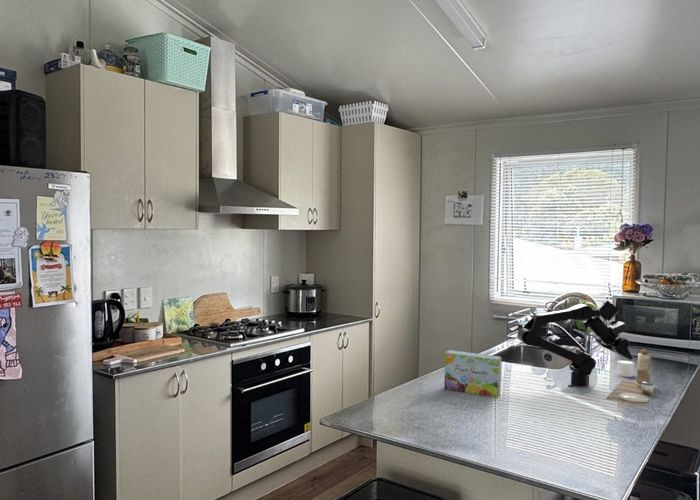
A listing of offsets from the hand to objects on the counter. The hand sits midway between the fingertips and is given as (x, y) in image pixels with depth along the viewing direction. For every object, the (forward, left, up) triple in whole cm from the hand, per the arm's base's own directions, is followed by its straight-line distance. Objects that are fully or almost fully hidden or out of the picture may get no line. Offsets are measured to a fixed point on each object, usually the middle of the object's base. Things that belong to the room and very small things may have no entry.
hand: (625, 356), depth 235 cm
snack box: (-63, +16, -13) cm, 66 cm away
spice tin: (-1, -11, -12) cm, 16 cm away
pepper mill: (+7, -3, -12) cm, 14 cm away
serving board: (-5, -8, -13) cm, 16 cm away
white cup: (+15, +13, -13) cm, 24 cm away
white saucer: (-12, -15, -12) cm, 22 cm away
